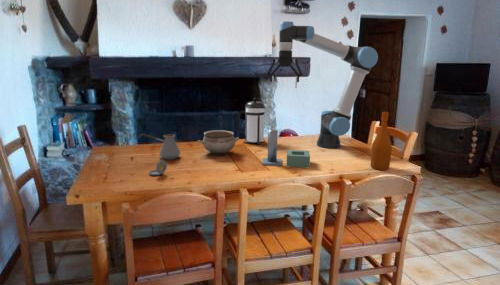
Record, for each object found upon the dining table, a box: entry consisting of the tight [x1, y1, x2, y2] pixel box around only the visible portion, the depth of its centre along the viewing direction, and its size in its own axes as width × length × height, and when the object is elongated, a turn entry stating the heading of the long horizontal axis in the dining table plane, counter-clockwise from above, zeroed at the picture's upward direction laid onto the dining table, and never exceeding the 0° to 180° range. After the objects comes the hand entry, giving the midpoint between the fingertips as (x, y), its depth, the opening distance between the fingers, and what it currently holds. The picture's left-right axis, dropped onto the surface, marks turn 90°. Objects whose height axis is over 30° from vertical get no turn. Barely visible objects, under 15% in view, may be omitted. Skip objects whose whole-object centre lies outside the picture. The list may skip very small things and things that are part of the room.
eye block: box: [286, 149, 311, 168], centre depth 197 cm, size 12×12×6 cm
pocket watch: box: [149, 155, 168, 176], centre depth 176 cm, size 8×8×10 cm
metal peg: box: [267, 129, 279, 162], centre depth 197 cm, size 5×5×17 cm
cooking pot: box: [197, 129, 240, 156], centre depth 214 cm, size 25×19×12 cm
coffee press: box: [236, 97, 267, 146], centre depth 239 cm, size 17×16×30 cm
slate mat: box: [261, 157, 282, 167], centre depth 199 cm, size 10×10×1 cm
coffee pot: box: [139, 132, 181, 161], centre depth 202 cm, size 21×12×15 cm, turn 109°
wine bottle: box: [370, 111, 393, 171], centre depth 189 cm, size 10×10×30 cm
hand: (284, 87), depth 212 cm, fingers open, 13 cm apart
